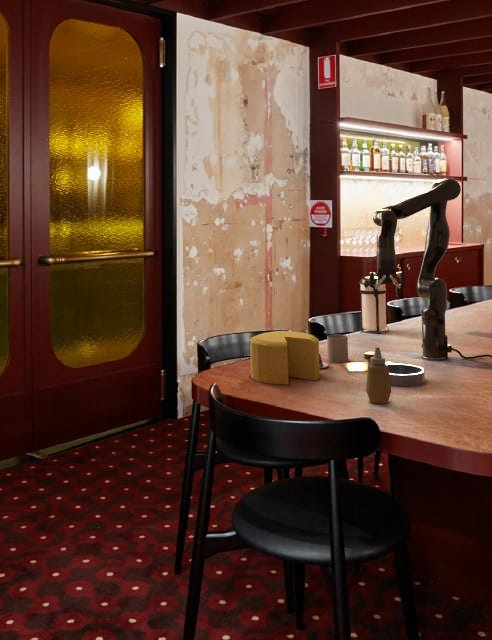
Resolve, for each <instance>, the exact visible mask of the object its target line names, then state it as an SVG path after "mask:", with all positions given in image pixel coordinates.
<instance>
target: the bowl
mask: <svg viewBox="0 0 492 640" xmlns="http://www.w3.org/2000/svg"><path fill="white" fill-rule="evenodd" d="M386 365H387V366H388V369H389V377H390V384H391V387H392V386H393V387H415V386H420V385H423V384H424V383H425V381H426V379H425V378H426V377H425V369H424V368H423V367H421V366H417V365H413V364H405V363H394V364H386Z"/></svg>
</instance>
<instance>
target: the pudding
mask: <svg viewBox="0 0 492 640" xmlns="http://www.w3.org/2000/svg"><path fill="white" fill-rule="evenodd" d="M327 367H329V364H328V363H326V362H323V359H322V355H321V354H320V353H319V370H321V369H324V368H327Z"/></svg>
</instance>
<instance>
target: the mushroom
mask: <svg viewBox="0 0 492 640" xmlns="http://www.w3.org/2000/svg"><path fill="white" fill-rule="evenodd" d="M374 353H375V351H364V352H363V359H364V360H367V362H368V365H369V364H371V357H374Z"/></svg>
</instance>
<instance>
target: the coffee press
mask: <svg viewBox="0 0 492 640" xmlns="http://www.w3.org/2000/svg"><path fill="white" fill-rule="evenodd" d="M370 272H371V273H375V272H374V271H370ZM377 280H378V278H377V276H375V278H373V285H374V284H375V283H376V281H377ZM380 282H381V281H380ZM359 285H360V289H359V293H360V328H358V331H359V333H363V332H364V331H366V330H367V331H375V333H376V334H377V335H380V334H381V331H383V330H385V331H386V332H389V331H390V328H389V327H388V326H387V298H386V297H387V296H386V295H387V294H386V293H387V289H386V283H381V284H380V285H379V287H378V288H377V289H378V298H375V296H374V290H373V288H371V287H369V276H364V277H362V278H360V281H359ZM361 329H362V330H361ZM386 329H387V330H386Z"/></svg>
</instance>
